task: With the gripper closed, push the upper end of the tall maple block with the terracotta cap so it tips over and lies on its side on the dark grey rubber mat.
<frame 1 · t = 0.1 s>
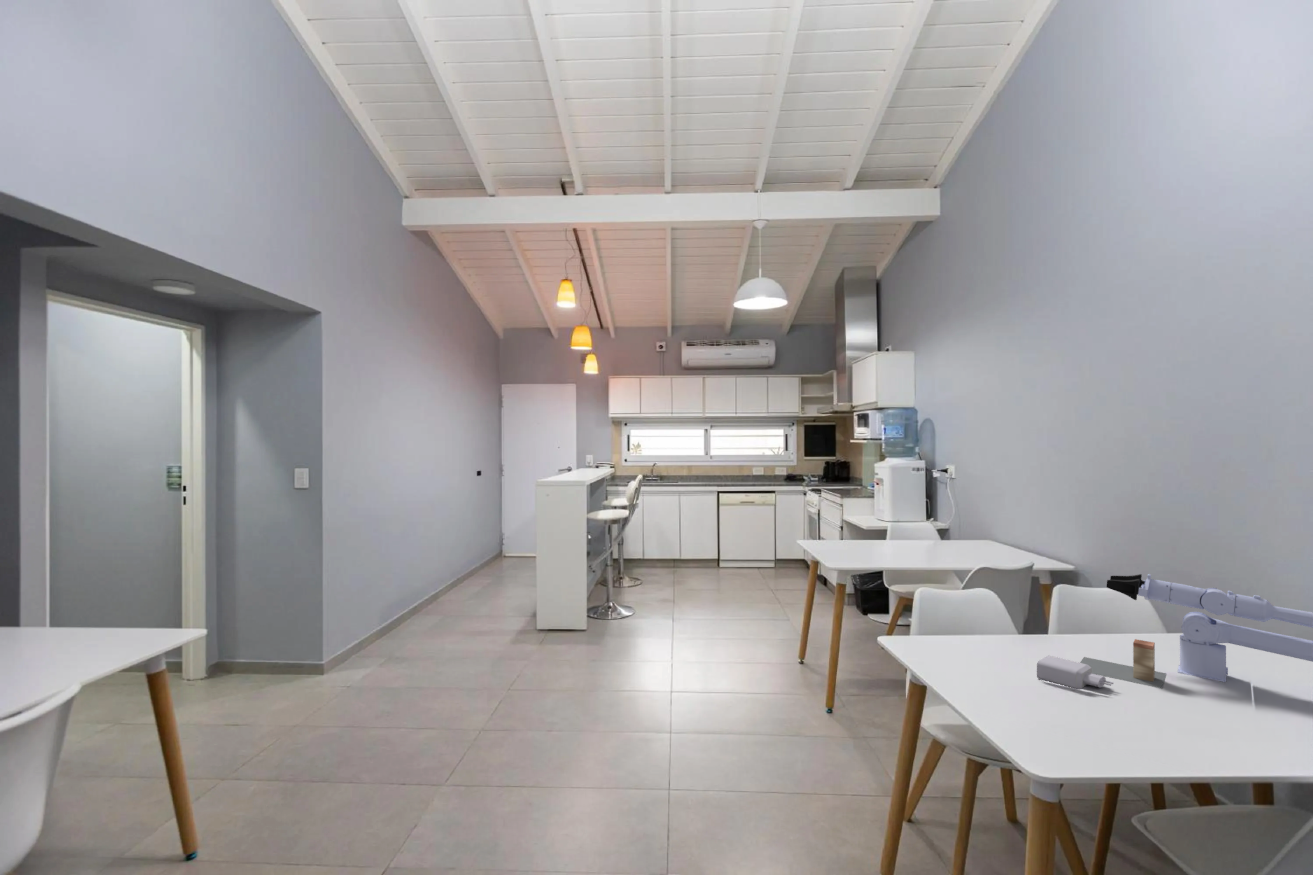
hand: (1108, 581, 176), 22 cm above the table, tool horizontal, fingers open, 7 cm apart
charger: (1076, 685, 155), on the table
maple block: (1144, 677, 158), resting on rubber mat
rubber mat: (1120, 673, 162), on the table
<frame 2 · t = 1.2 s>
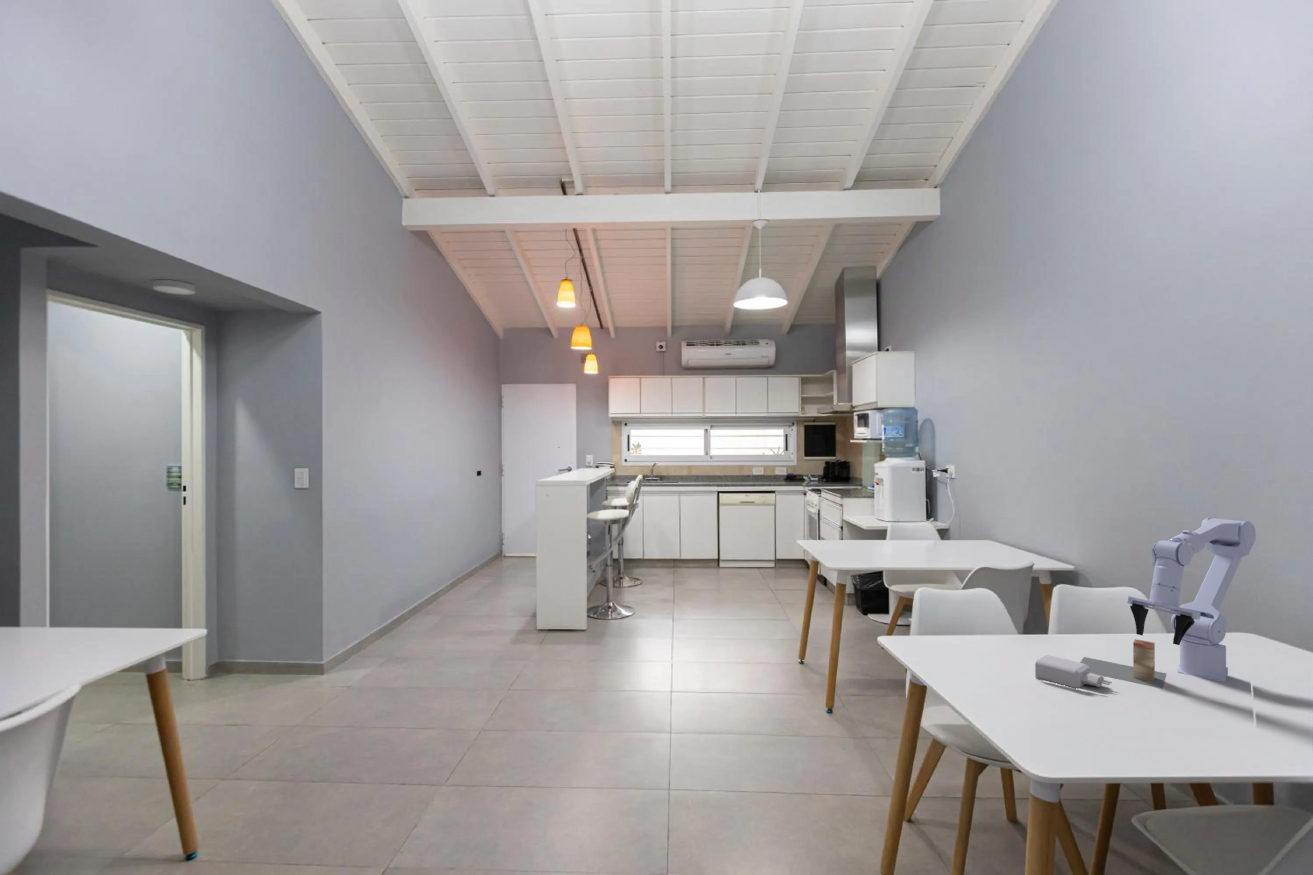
hand: (1157, 639, 156), 11 cm above the table, tool tilted 15°, fingers open, 7 cm apart
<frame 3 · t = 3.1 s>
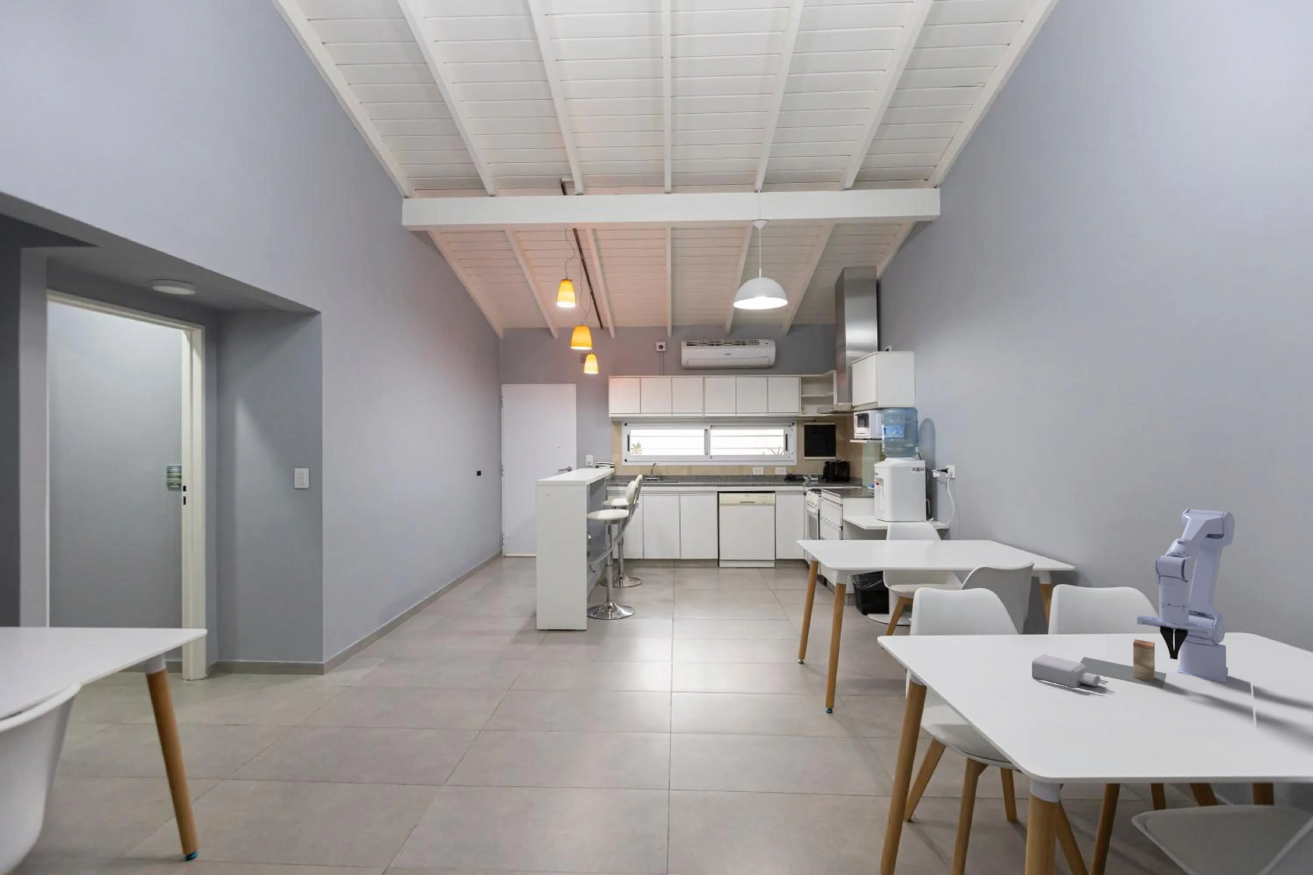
hand: (1173, 658, 154), 7 cm above the table, tool pointing down, fingers closed
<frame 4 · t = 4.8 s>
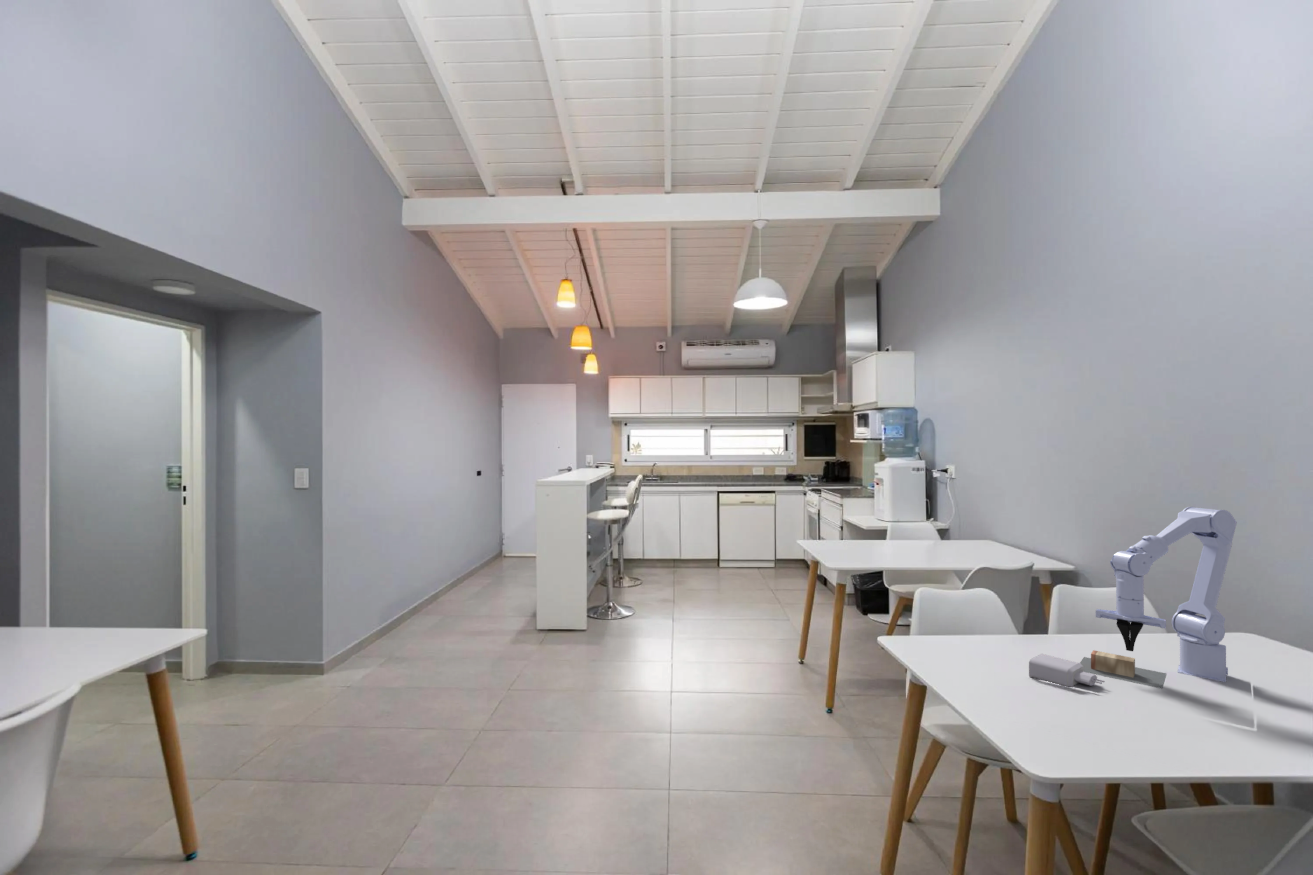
hand: (1129, 649, 160), 7 cm above the table, tool pointing down, fingers closed
maple block: (1134, 667, 160), point 2 cm above the table, tilted 90°, touching rubber mat
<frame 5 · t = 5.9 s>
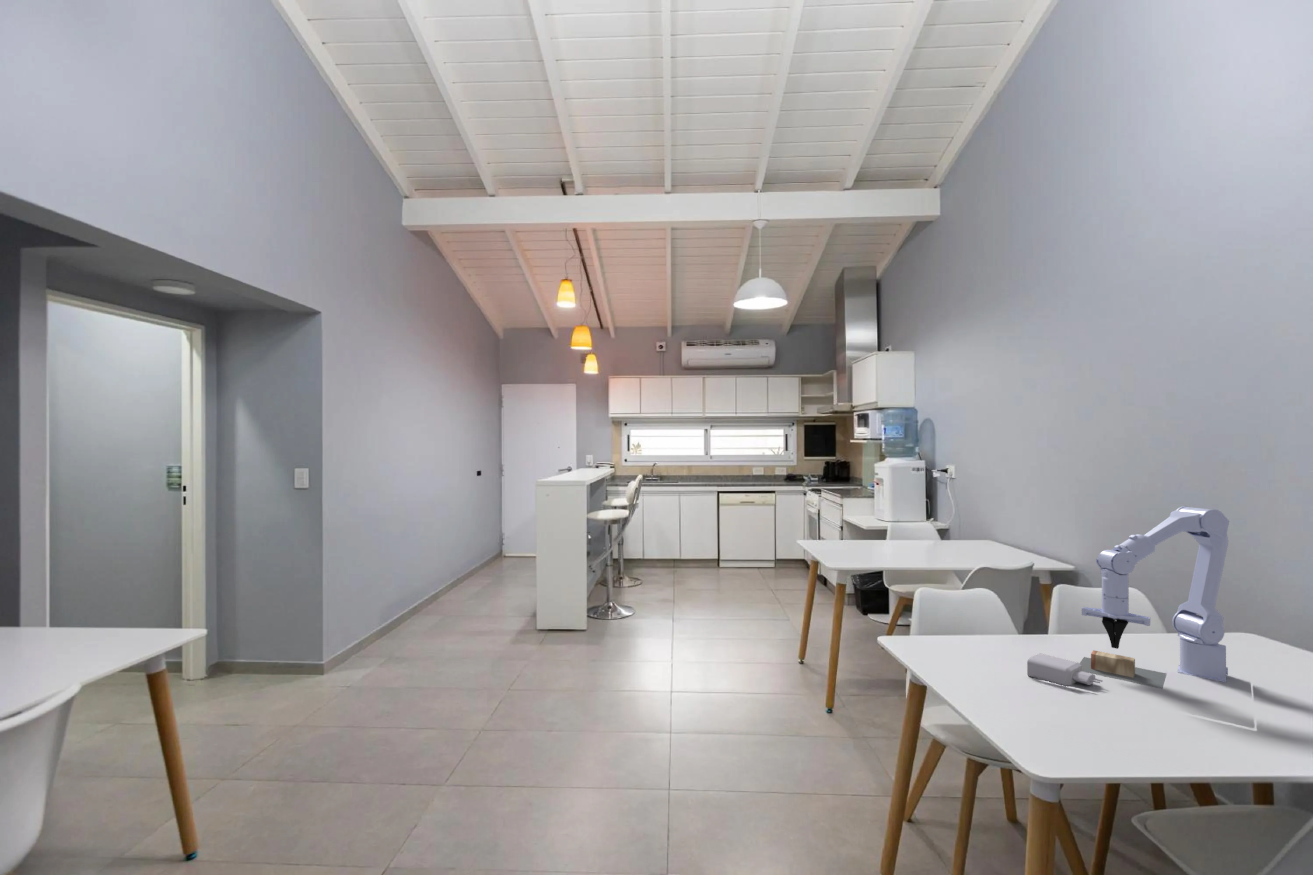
hand: (1115, 647, 162), 7 cm above the table, tool pointing down, fingers closed
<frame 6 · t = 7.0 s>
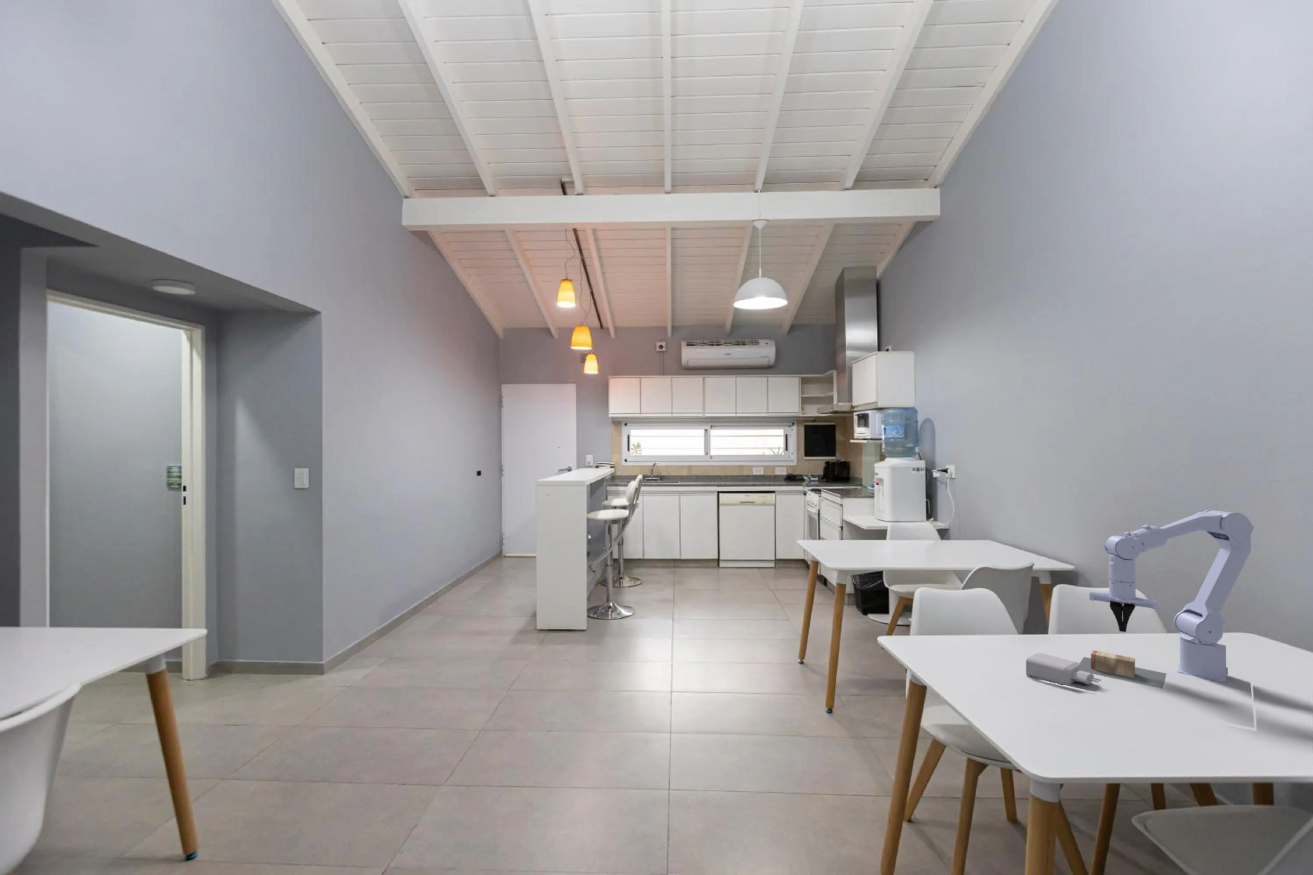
hand: (1122, 630, 166), 10 cm above the table, tool pointing down, fingers closed
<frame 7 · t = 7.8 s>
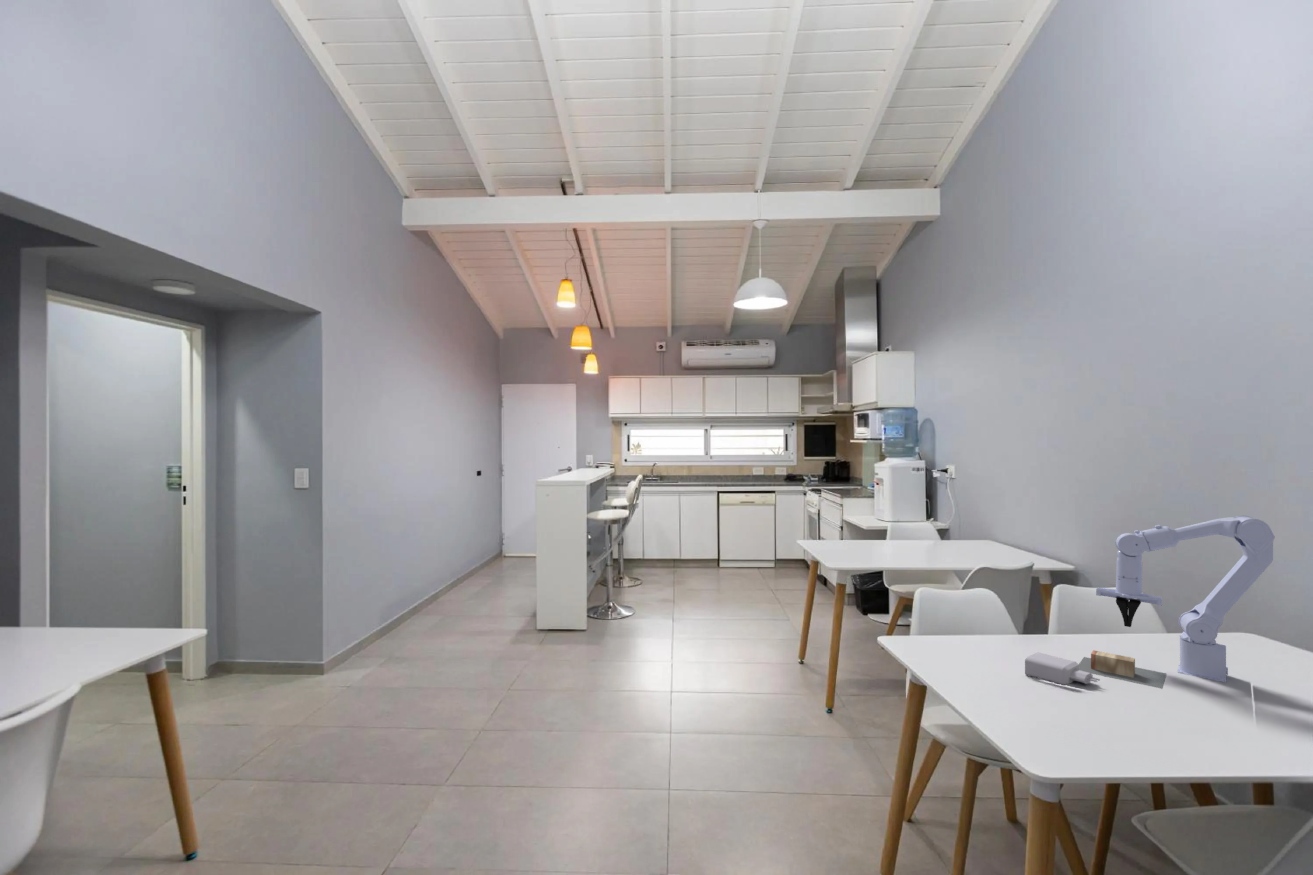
hand: (1127, 625, 170), 10 cm above the table, tool pointing down, fingers closed
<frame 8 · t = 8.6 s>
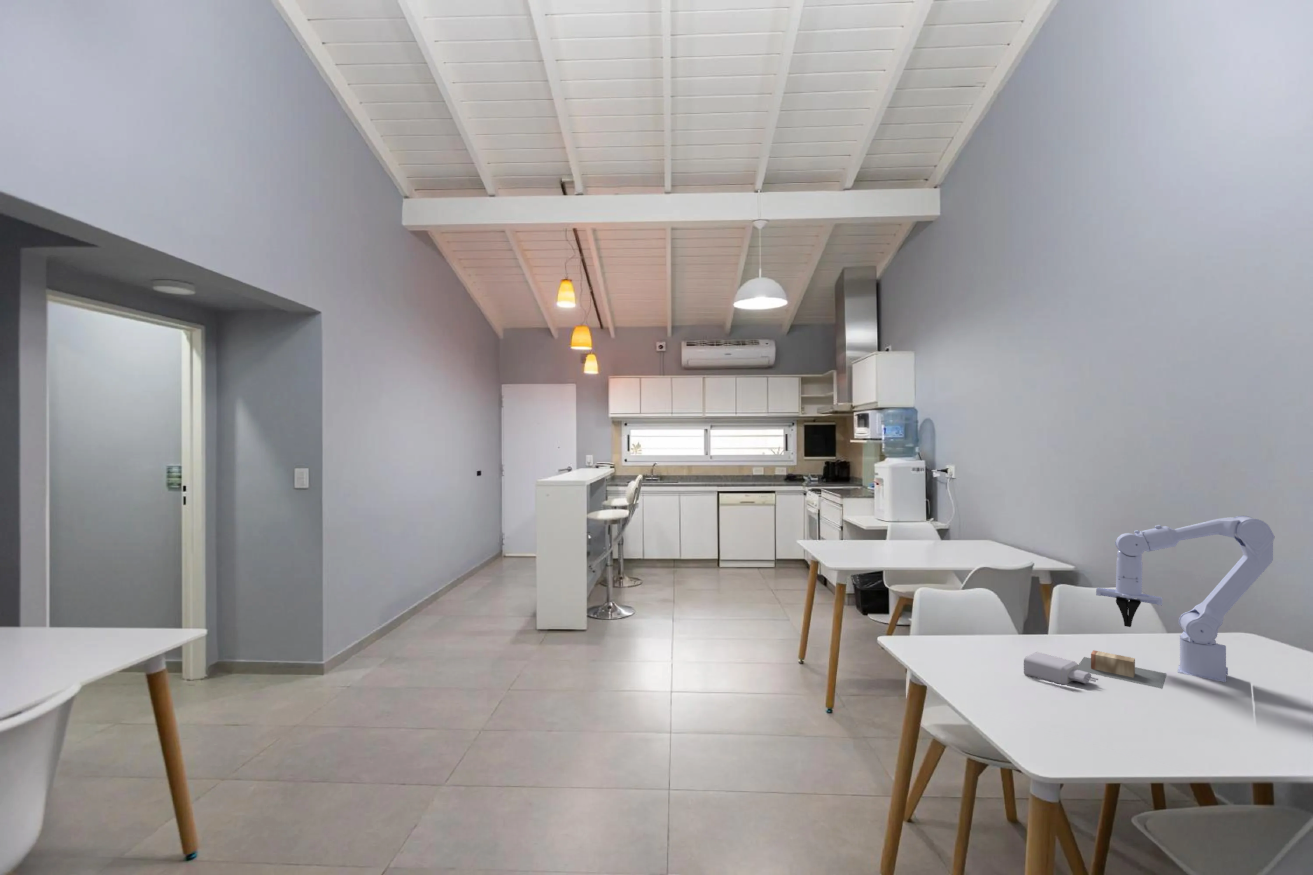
hand: (1127, 625, 170), 10 cm above the table, tool pointing down, fingers closed
at the end: maple block tilted 90°; maple block inside the target area (3.0 cm from its centre), point 2.5 cm above the table; maple block touching rubber mat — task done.
